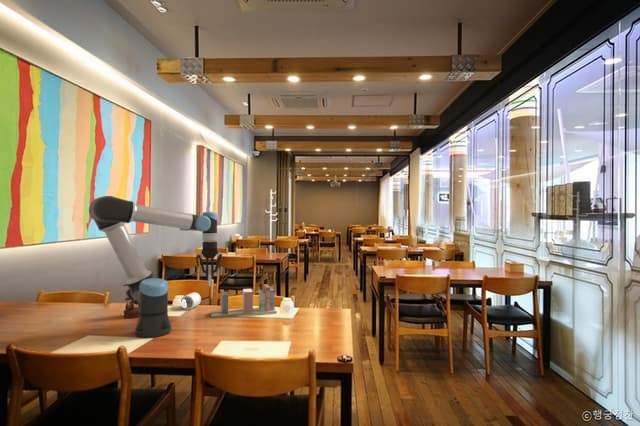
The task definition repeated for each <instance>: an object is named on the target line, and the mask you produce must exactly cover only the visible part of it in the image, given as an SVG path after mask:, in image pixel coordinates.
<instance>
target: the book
mask: <svg viewBox="0 0 640 426" xmlns="http://www.w3.org/2000/svg"><path fill="white" fill-rule="evenodd" d="M253 308H254V291H253V290H252V288H243V289H242V309H243V311H244V313H253Z"/></svg>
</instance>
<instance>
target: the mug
mask: <svg viewBox="0 0 640 426" xmlns="http://www.w3.org/2000/svg"><path fill="white" fill-rule="evenodd" d="M180 299H181V302H182V300H183V299H185V300H186V303H187V307H186V308H185V309H186V310H185V309H184V310H185V311H189V310H191V309H193V308H195V307H197V306H199V304H201V302H202V297H201V295H200V294H199V293H198V292H194V291H193V292H190V293H188V294H187V295H184V296H183V297H181V298H180Z"/></svg>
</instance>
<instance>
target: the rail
mask: <svg viewBox="0 0 640 426" xmlns="http://www.w3.org/2000/svg"><path fill="white" fill-rule="evenodd" d="M275 294H276V293H275V289H274V288H273V287H271V286H270V285H269V284H263V289H259V290H258V307H253V313H244V311H243V308H232V309H229V308H228V314H222V309H217V310H216V309H215V310H210V318H211V319H217V318H218V319H219V318H230V317H232V318H234V317H247V316H258V315H259V314H263V315H273V314H274V315H275V314H276V313H278V311H277V310H276V308H275ZM259 316H260V315H259Z"/></svg>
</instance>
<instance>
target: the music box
mask: <svg viewBox="0 0 640 426" xmlns="http://www.w3.org/2000/svg"><path fill="white" fill-rule="evenodd" d="M122 286H123V287H127V288H126V289H127V290H126V293H125V295H126V296H127V297H125V298H124V300H125V301H127V302H126V304H125V307H124V308H125V309H124V310H123V318H124V319H130V320H131V319H132V320H133V319H139V302H137V301H135V300H134V299H133V298H132V296H131V293H130V289H129V287H128V285H127V283H126V284H123V285H122ZM128 301H129V302H128ZM135 305H136V306H135Z"/></svg>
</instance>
